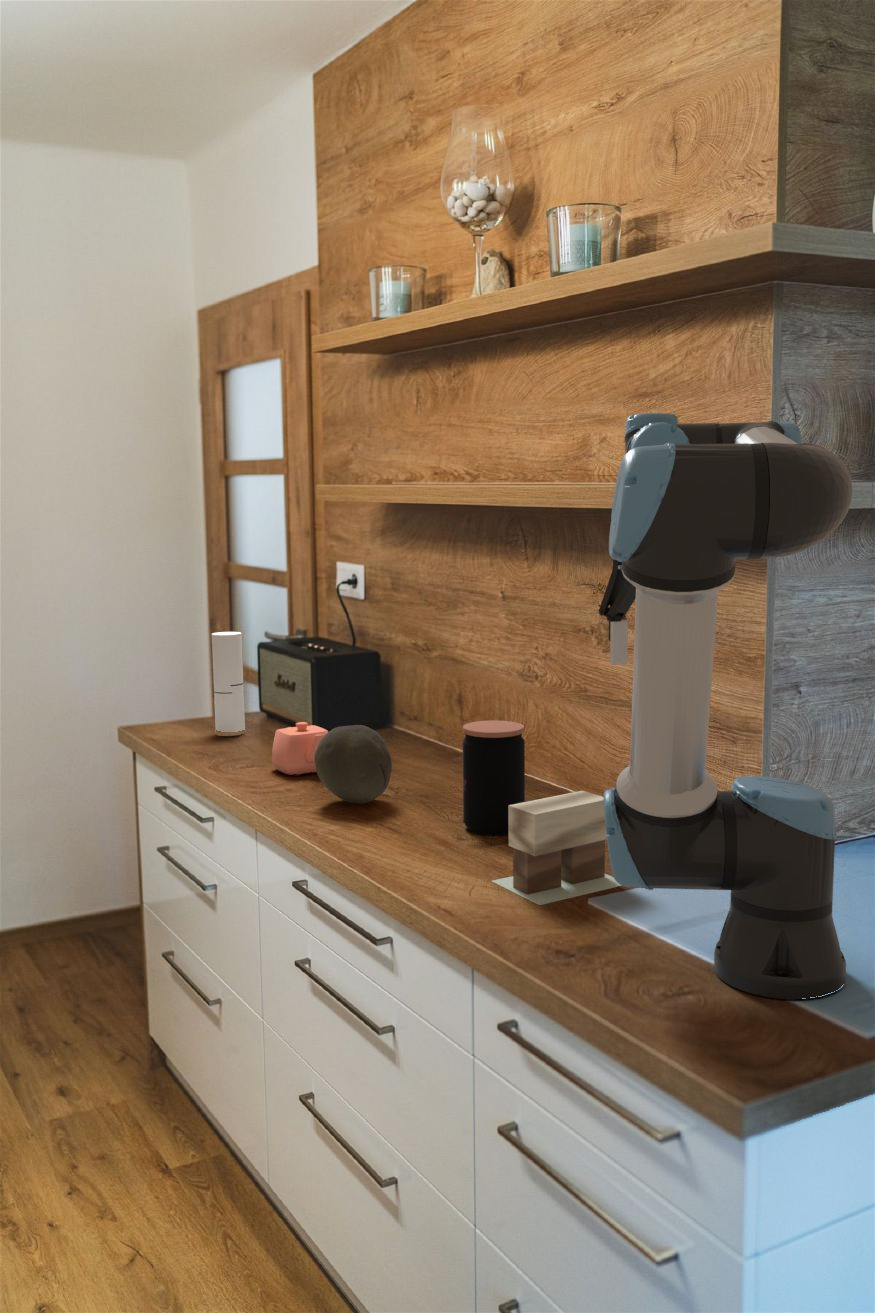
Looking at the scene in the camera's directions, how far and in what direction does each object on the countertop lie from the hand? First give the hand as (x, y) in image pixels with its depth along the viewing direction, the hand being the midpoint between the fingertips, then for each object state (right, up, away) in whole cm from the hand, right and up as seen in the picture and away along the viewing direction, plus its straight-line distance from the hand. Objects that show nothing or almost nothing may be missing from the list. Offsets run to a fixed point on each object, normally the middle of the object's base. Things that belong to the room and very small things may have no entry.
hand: (649, 669), depth 168 cm
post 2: (-10, -31, +2) cm, 32 cm away
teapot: (-59, -23, +75) cm, 98 cm away
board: (-13, -32, 0) cm, 35 cm away
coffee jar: (-21, -28, +32) cm, 48 cm away
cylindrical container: (-82, -17, +115) cm, 142 cm away
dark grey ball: (-47, -26, +49) cm, 73 cm away
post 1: (-17, -31, -2) cm, 36 cm away
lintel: (-13, -25, -1) cm, 28 cm away
